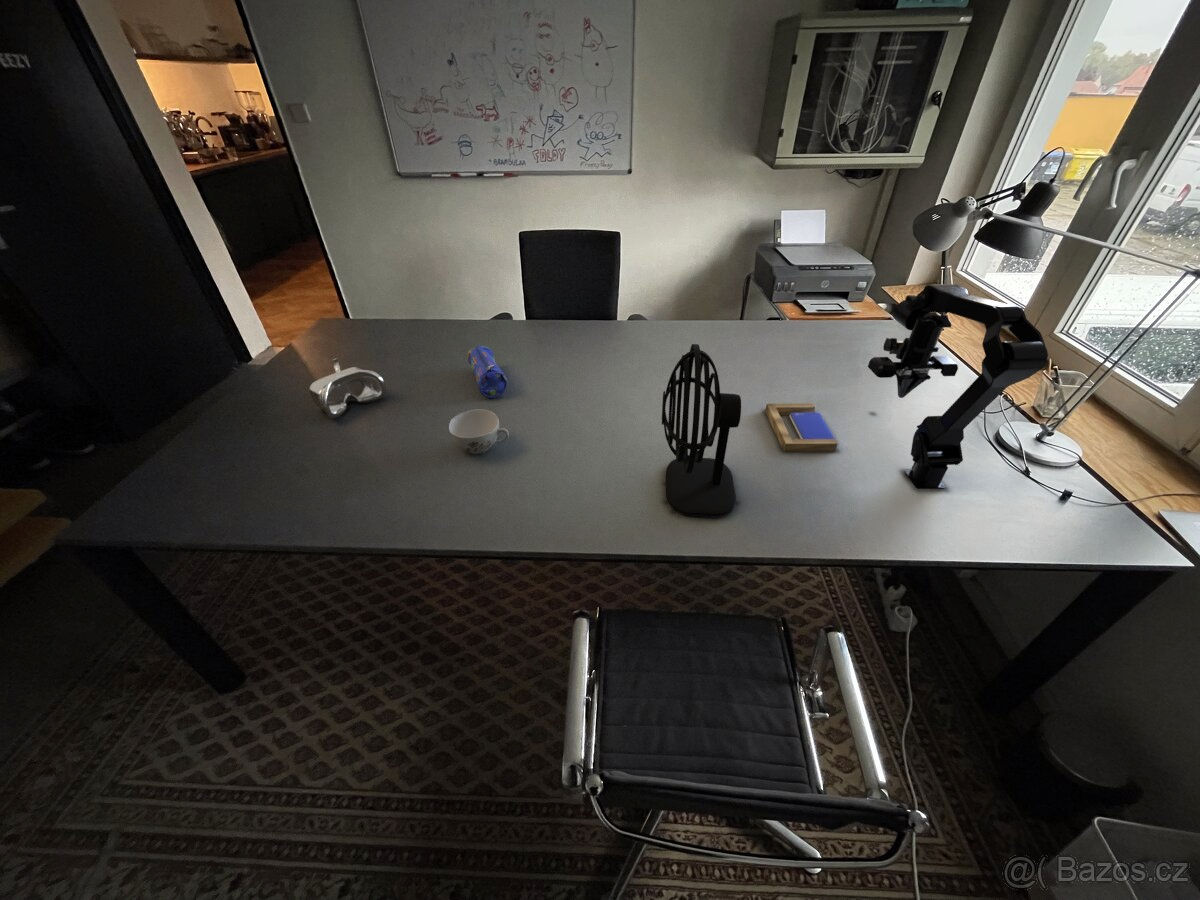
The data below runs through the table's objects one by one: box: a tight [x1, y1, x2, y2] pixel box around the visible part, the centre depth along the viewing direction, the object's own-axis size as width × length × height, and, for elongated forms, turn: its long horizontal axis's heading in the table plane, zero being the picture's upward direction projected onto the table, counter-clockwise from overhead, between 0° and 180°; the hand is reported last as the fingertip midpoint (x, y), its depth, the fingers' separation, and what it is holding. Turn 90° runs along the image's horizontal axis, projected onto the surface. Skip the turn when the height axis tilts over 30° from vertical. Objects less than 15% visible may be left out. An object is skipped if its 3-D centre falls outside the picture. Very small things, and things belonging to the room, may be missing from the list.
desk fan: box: [661, 343, 742, 518], centre depth 107 cm, size 27×18×35 cm, turn 174°
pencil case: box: [466, 345, 508, 399], centre depth 156 cm, size 22×9×10 cm, turn 22°
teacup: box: [448, 408, 510, 455], centre depth 129 cm, size 15×12×8 cm
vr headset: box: [309, 357, 387, 419], centre depth 145 cm, size 18×11×14 cm, turn 139°
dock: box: [764, 402, 839, 453], centre depth 135 cm, size 19×13×2 cm
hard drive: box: [788, 412, 836, 440], centre depth 135 cm, size 2×8×12 cm
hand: (900, 396), depth 126 cm, fingers closed
